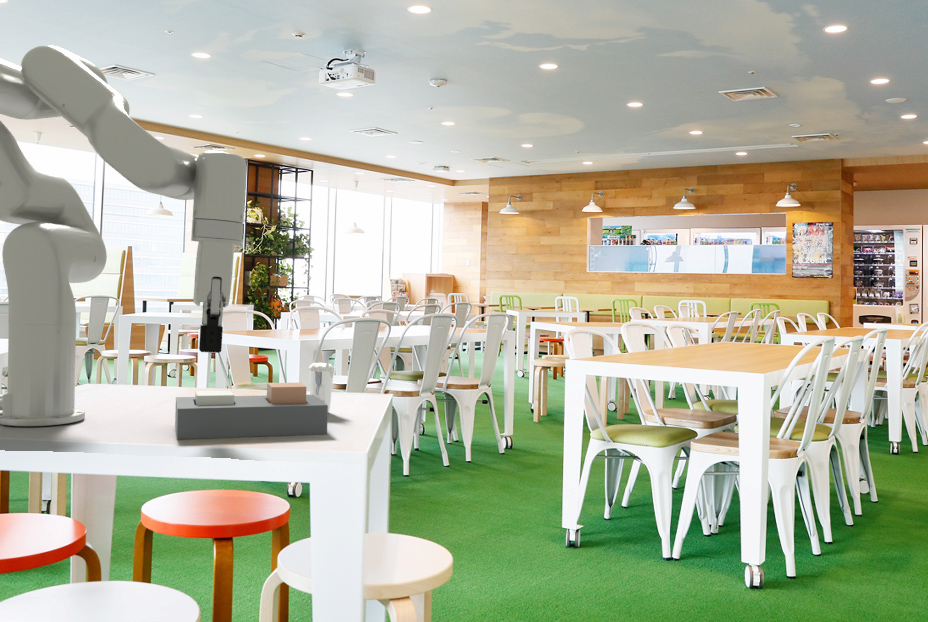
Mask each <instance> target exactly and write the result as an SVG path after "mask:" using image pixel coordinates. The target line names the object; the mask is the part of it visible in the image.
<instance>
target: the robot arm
mask: <svg viewBox="0 0 928 622" xmlns="http://www.w3.org/2000/svg"><path fill="white" fill-rule="evenodd" d="M0 115H3V116H5V117H9V118H13V119H16V120H17V119H18V120H27V121H28V120H40V119H49V118H50V119H51V118H60V117H62V118H63V119H64V120H66V121H67V122H68V123H69V124H70V125H72V127H74V128H76V129H77V131H79V132H80V133H81V134H83V135H84V136H85V137H86V138H87V140H88V142H89V144H90V145H91V146H92V149H93V150H94V152H95V153H96V154H97V155H98V156H99V157H100V158H101V159H102V160H103V161H104V162H105V164H107V165H108V166H110V167H111V168H113V169H114V171H116V172H117V173H118V174H120V175H121V176H122V177H123V178H125V179H126V180H127V181H128V182H130V183H131V184H132V185H134V186H136V187H137V188H138V189H140V190H142V191H145V192H147V193H150V194H154V195H155V194H156V195H158V196H163V197H166V198H170V199H174V200H182V201H188V200H189V201H190V200H193V205H192V220H191V221H192V223H191V240H190V241H191V242H198V243H197V250H196V258H195V259H196V260H195V273H194V287H193V299H192V300H193V301H192V302H193V304H194V305H196V306H197V307H200V305H201V303H202V317H201V325H200V327H199V345H198V349H199V351H200V352H201V353H221V352H222V344H223V343H222V342H223V329H224V328H223V327H224V326H222V325H223V312H224V308H226V307H228V306H229V304H230V298H231V289H232V281H233V272H234V271H233V268H234V267H233V266H234V256H235V255H234V253H235V245H237V246H239V245H240V246H242V245H243V235H244V234H243V233H244V221H245V218H244V216H245V206H246V205H245V203H246V202H245V201H246V186H247V173H248V171H247V170H248V169H247V168H248V167H247V162H246V160H245V158H244V157H243V156H241V155H239V154H237V153H232V152H225V151H219V150H217V151H215V150H207V151H202V152H200V153H199V154H195V153H190V152H186V151H184V150H181V149H180V148H176V147H174V146H171V145H168V144H165V143H163V142H161V141H160V140H159V139H157V138H156V137H155V136H153V135H152V134H151V133H149V132H148V131H147V130H146V129H144V128H143V127H142V126H140V124H138V123H137V122H136V121H135V120H134V119H133V118H131V116H129V115H130V104H129V102H128V100H127V99H126V98H125V97H124V96H123V95H122V94H121V93H120V92H118V91H117V90H115V88H113V87H112V86H111V85H110V84H109V83H108V81H107V78H106V76H105V74H104V73H103V72H102V69H100V68H99V67H98V66H97V65H96V64H94V63H92V62H91V61H88V60H87V59H85V58H82V57H80V56H79V55H76V54H74V53H73V52H70V51H68V50H66V49H64V48H61V47H59V46H54V45H49V44H48V45H39V46H35V47H34V48H32V49H30V50H29V51H27V52H26V53H25V55H24V56H23V58H22V60H21V64H20V66H19V65H16V64H15V63H12V62H9V61H7V60H4V59H2V58H0ZM0 221H1V222H4V223H8V224H9V223H10V224H14V225H18V226H17V227H15V228H13V229H12V230H11V231H10V232H9V234H8V235H7V236H6V238H5V240H4V242H3V245H2V253H1V255H2V264H3V269H4V274H5V279H6V280H5V281H6V287H7V297H8V298H7V299H8V302H7V303H8V314H7V315H8V338H7V339H8V345H7V347H8V349H7V351H8V352H7V391H6V392H4V393H3V394H0V411H2V412H0V425H2V426H10V427H11V426H12V427H45V426H46V427H47V426H48V427H49V426H59V425H66V424H67V425H68V424H73V423H77V422H80V421H83V420H84V419H85V417H86V411H84V410H83V409H80V408H75V403H76V402H75V401H76V400H75V399H76V398H75V395H76V394H75V392H76V347H77V346H76V344H77V343H76V341H77V340H76V336H77V335H76V334H77V332H76V331H77V308H76V302H75V300H76V299H75V296H74V294H73V290H72V288H71V284H79V283H81V284H82V283H87V282H91V281H93V280H95V279H96V278H98V276H100V275H101V274H102V272H103V270H104V269H105V268H106V267H105V266H106V263H107V257H108V256H107V254H108V253H107V248H106V246H105V242H104V240H103V238H102V236H101V234H100V232H99V230H98V228H97V226H96V224H95V223H94V220H93V219H92V216H91V215H90V213H89V211H88V210H87V207H86V206H85V204H84V202H83V200H82V199H81V197H80V195H79V193H78V191H76V189H75V188H74V186H73V185H72V184H71V183H70V182H69V181H67V179H65V178H64V177H63V176H61V175H59V174H58V173H57V174H56V173H54V172H52V171H47V170H44V169H40V168H36V167H35V166H33V165H32V164H31V163H30V162H29V161H28V159H27V158H26V156H25V155H24V153H23V151H22V150H21V148H20V146H19V144H18V142H17V140H16V138H15V136H14V135H13V133H12V132H11V131H10V130H9V129H8V127H7V126H6V125H5V124H4V123H3V122H2V120H0Z"/></svg>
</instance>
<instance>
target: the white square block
mask: <svg viewBox="0 0 928 622" xmlns="http://www.w3.org/2000/svg"><path fill="white" fill-rule="evenodd" d="M234 396H235V394H234V393H233V392H232V390H195V396H194V397H195V405H229V404H234Z"/></svg>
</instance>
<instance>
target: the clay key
mask: <svg viewBox="0 0 928 622" xmlns="http://www.w3.org/2000/svg"><path fill="white" fill-rule="evenodd" d="M306 395H307V386H306V385H305V384H303V383H302V382H266V396H267V401H268V402H269V403H270V404H273V403H306Z"/></svg>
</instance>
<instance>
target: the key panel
mask: <svg viewBox="0 0 928 622" xmlns="http://www.w3.org/2000/svg"><path fill="white" fill-rule="evenodd" d="M174 413H175V416H174V418H175V419H174V420H175V421H174V426H175V434H176V439H177V440H198V439H203V440H204V439H224V438H225V439H226V438H249V437H251V438H252V437H253V438H254V437H281V436H283V437H284V436H307V435H308V436H309V435H311V436H312V435H328V418H329V417H328V414H329V413H328V405H327V404H326V403H324V402H323V401H321V400H320V399H319V398H317V397H316V396H315V395H310V394H306V403H273V404H270V403H269V402H268V401H267V395H234V404H229V405H195V396H176V397H175V412H174Z"/></svg>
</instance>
